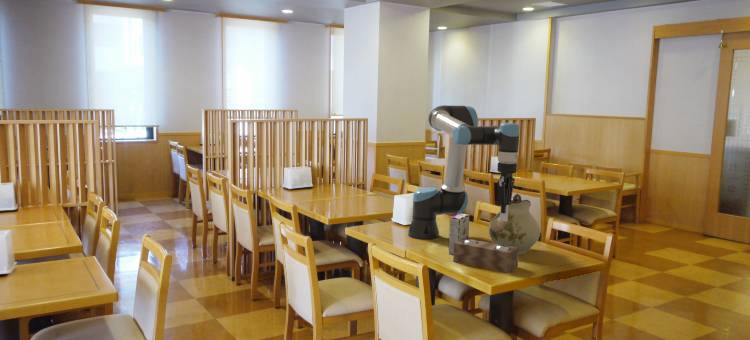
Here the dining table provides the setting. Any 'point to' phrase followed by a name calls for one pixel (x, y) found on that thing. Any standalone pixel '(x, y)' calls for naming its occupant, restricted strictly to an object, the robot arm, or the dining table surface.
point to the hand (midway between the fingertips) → (503, 220)
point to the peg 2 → (502, 247)
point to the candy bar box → (458, 230)
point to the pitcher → (516, 226)
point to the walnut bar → (486, 255)
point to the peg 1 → (470, 242)
